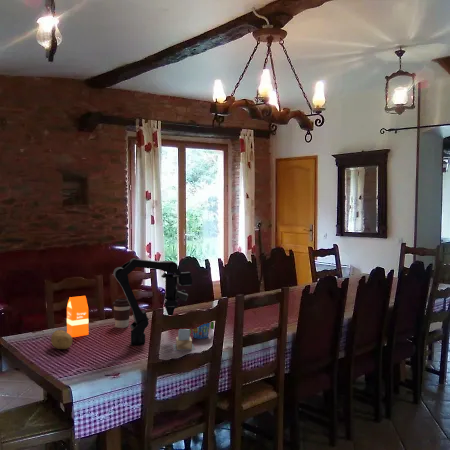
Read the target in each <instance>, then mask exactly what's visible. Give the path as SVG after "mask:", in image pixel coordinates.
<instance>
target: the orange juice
mask: <svg viewBox="0 0 450 450" xmlns="http://www.w3.org/2000/svg"><path fill="white" fill-rule="evenodd" d="M66 332H67V333H69V334H70V335H71V336H72V338H76V337H83V336H87V335H88V336H89V306H88V300H87V297H86V295H81V296H79V295H78V296H72V297H71V296H69V299H68V300H67V306H66Z"/></svg>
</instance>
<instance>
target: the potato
mask: <svg viewBox="0 0 450 450" xmlns="http://www.w3.org/2000/svg"><path fill="white" fill-rule="evenodd" d="M50 339H51V340H50V341H51V345H52V347H54V348H56V350H57V349H58V350H67V349H69V348H70V347H71V346H72V344H73V337H72V336H71V335H70V334H69V333H67V331H65V330H64V329H63V330H61V329H57V330H55V331H54V332H52V335H51V338H50Z"/></svg>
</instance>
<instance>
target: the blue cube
mask: <svg viewBox="0 0 450 450" xmlns="http://www.w3.org/2000/svg"><path fill="white" fill-rule="evenodd" d="M177 331H178V334H177V335H178V336H177V337H178V338H179V340H190V337H191V333H190V329H179V330H177Z"/></svg>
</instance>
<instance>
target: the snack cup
mask: <svg viewBox="0 0 450 450" xmlns="http://www.w3.org/2000/svg"><path fill="white" fill-rule="evenodd" d="M191 329H192V328H191ZM191 329H190V334H191V332H192V336H193V338H194V339H197V340H198V339H199V340H202V339H203V340H204V339H207V338H208V337H209V331H210V329H211V330H213V329H215V324H214V321H213V322H210V323H207V324H203V325H201V326H199V327H197V328H194V329H192V331H191Z"/></svg>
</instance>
